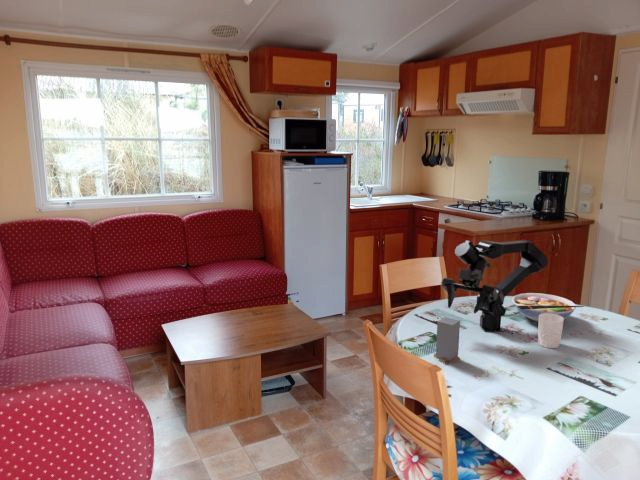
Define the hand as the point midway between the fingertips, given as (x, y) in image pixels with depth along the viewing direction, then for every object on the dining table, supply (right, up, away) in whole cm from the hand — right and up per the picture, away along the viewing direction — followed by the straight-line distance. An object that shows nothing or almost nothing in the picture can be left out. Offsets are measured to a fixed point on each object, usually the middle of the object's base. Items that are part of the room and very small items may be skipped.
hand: (461, 310), depth 173 cm
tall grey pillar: (-7, -14, -9) cm, 18 cm away
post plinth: (-7, -15, -9) cm, 19 cm away
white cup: (+31, -12, +1) cm, 33 cm away
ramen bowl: (+38, -7, +24) cm, 46 cm away
